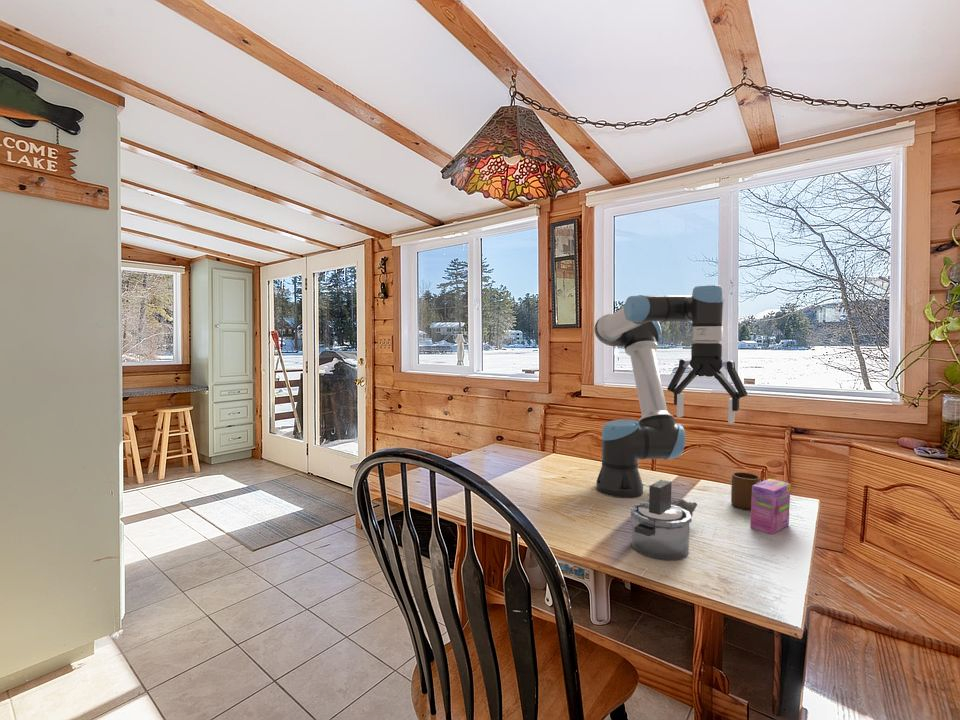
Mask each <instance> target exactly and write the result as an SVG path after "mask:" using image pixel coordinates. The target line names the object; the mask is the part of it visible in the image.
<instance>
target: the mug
mask: <svg viewBox="0 0 960 720" xmlns="http://www.w3.org/2000/svg"><path fill="white" fill-rule="evenodd" d="M760 482H761V477H760V476H759V475H757V474H754V473H751V472H750V473H748V472H741V471H739V472H733V473H732V474H731V485H730V487H731V489H730V492H731V493H730V495H731V496H730V500H731V501H730V502H731V505H732V506H734V507H736V508H737V509H742V510H744V511H751V498H752V485H755V484H757V483H760Z"/></svg>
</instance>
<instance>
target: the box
mask: <svg viewBox="0 0 960 720" xmlns="http://www.w3.org/2000/svg"><path fill="white" fill-rule="evenodd" d="M791 487H792V484H791V483H789V482H786V481H782V480H777V479H773V478H767V479H765V480H762V481H760V483H757V484H755V485H752V498H751V510H750V524H749V525H750V528H751V529H752V530H753V529H754V530H756V531H760V532H763V533H766V534H769V535H774V534H776V533H777V532H779V531H780V530H783V529H784V528H786V527H788V526H789V525H790V504H791V503H790V502H791V501H790V499H791Z"/></svg>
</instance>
